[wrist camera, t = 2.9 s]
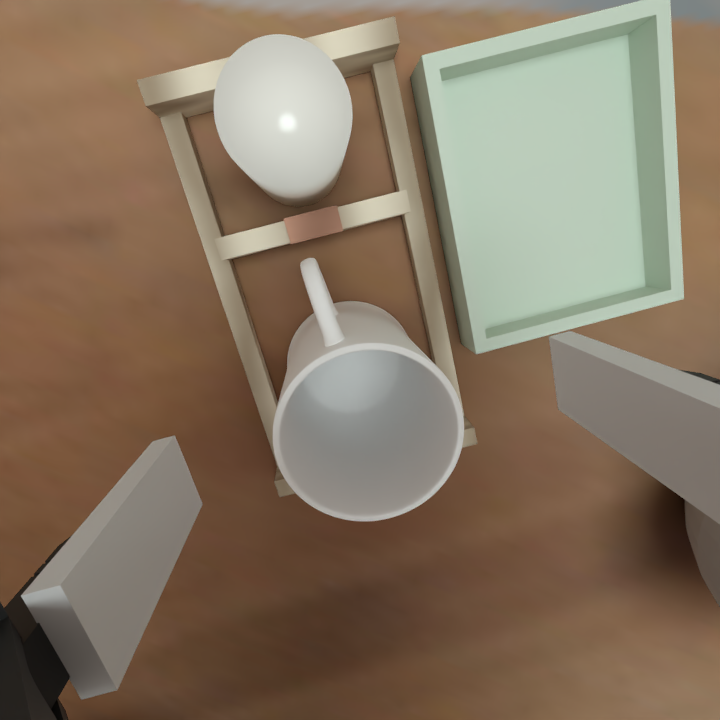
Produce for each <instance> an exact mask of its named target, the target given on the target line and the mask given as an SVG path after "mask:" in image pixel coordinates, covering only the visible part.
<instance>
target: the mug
mask: <svg viewBox="0 0 720 720" xmlns="http://www.w3.org/2000/svg"><path fill="white" fill-rule="evenodd" d="M300 268H301V272H302V276H303V280H304V283H305V286H306V289H307V292H308V295H309V298H310V301H311V304H312V307H313V310H314V313H313V314H312V315H310V316H309V317H308V318H307V319H306V320H305V321H304V322H303V323H302V324H301V325H300V327H299V328H298V329H297V331H296V333H295V334H294V336H293V338H292V341H291V343H290V346H289V350H288V356H287V372H286V376H285V379H284V383H283V387H282V390H281V394H280V398H279V401H278V405H277V409H276V413H275V417H274V423H273V448H274V454H275V458H276V461H277V464H278V467H279V469H280V471H281V473H282V475H283V477H284V479H285V480H286V482H287V483H288V485H289V486H290V487H291V488H292V490H293V491H294V492H295V493H296V494H297V495H298V496H299V497H300V498H301V499H302V500H304V501H305V502H306V503H308V504H309V505H311V506H312V507H314V508H315V509H317V510H319V511H321V512H323V513H325V514H328V515H330V516H333V517H337V518H340V519H345V520H351V521H377V520H383V519H388V518H392V517H395V516H398V515H401V514H404V513H406V512H408V511H410V510H412V509H414V508H416V507H418V506H419V505H421V504H422V503H424V502H425V501H426V500H428V499H429V498H430V497H431V496H433V495H434V494H435V493H436V492H437V491H438V490H439V489H440V488H441V487H442V485H443V484H444V483H445V482H446V480H447V479H448V477H449V476H450V474H451V473H452V471H453V469H454V467H455V465H456V463H457V461H458V458H459V456H460V452H461V449H462V444H463V438H464V418H463V412H462V407H461V404H460V401H459V398H458V396H457V394H456V391H455V389H454V388H453V386H452V384H451V383H450V381H449V380H448V378H447V377H446V376H445V375H444V373H443V372H442V371H441V370H440V369H439V368H438V367H437V366H436V365H435V364H434V363H433V362H432V361H431V360H430V359H429V358H428V357H427V356H426V355H425V354H424V353H423V352H422V351H421V350H420V349H419V348H418V347H417V346H416V345H415V344H414V342H413V341H412V340H411V339H410V338H409V337H408V336H407V334H406V332H405V330H404V329H403V327H402V326H401V324H400V323H399V322H398V321H397V320H396V319H395V318H394V317H393V316H392V315H391V314H389V313H388V312H386V311H385V310H383V309H381V308H379V307H377V306H375V305H372V304H369V303H365V302H359V301H343V302H337V303H333V301H332V299H331V296H330V294H329V291H328V288H327V286H326V283H325V281H324V278H323V275H322V273H321V270H320V268H319V266H318V263H317V261H316V259H315V258H307V259H305V260H303V261H302V262H301V264H300Z"/></svg>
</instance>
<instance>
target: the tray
mask: <svg viewBox="0 0 720 720" xmlns="http://www.w3.org/2000/svg"><path fill="white" fill-rule="evenodd" d="M410 79H411V84H412V89H413V95H414V100H415V105H416V110H417V116H418V121H419V126H420V131H421V137H422V142H423V147H424V152H425V157H426V163H427V168H428V173H429V178H430V184H431V189H432V194H433V199H434V204H435V210H436V215H437V220H438V225H439V231H440V236H441V241H442V246H443V252H444V257H445V262H446V267H447V272H448V278H449V283H450V288H451V293H452V299H453V304H454V309H455V314H456V319H457V325H458V330H459V335H460V340H461V344H462V345H463V346H465V347H466V348H468V349H469V350H471V351H472V352H474V353H475V354H479V353H483V352H487V351H490V350H494V349H498V348H502V347H505V346H509V345H513V344H517V343H520V342H524V341H528V340H532V339H535V338H539V337H543V336H547V335H550V334H554V333H558V332H562V331H565V330H569V329H573V328H577V327H580V326H584V325H588V324H591V323H595V322H599V321H603V320H606V319H610V318H614V317H618V316H621V315H625V314H629V313H633V312H636V311H640V310H644V309H648V308H651V307H655V306H659V305H663V304H666V303H670V302H674V301H678V300H681V299H684V288H683V266H682V245H681V223H680V202H679V180H678V158H677V137H676V115H675V94H674V72H673V51H672V29H671V8H670V0H642V1H638V2H634V3H630V4H626V5H622V6H618V7H614V8H610V9H606V10H602V11H598V12H594V13H590V14H586V15H582V16H578V17H574V18H570V19H566V20H562V21H558V22H554V23H550V24H546V25H542V26H538V27H534V28H530V29H526V30H522V31H518V32H514V33H510V34H506V35H502V36H498V37H494V38H490V39H486V40H482V41H478V42H474V43H470V44H466V45H462V46H458V47H454V48H450V49H446V50H442V51H438V52H434V53H430V54H426V55H422V56H421V58H420V60H419V62H418V64H417V65H416V67H415V69H414V71H413V73H412V75H411V77H410Z"/></svg>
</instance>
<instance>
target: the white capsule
mask: <svg viewBox="0 0 720 720" xmlns="http://www.w3.org/2000/svg"><path fill="white" fill-rule="evenodd" d="M214 118H215V123H216V127H217V131H218V134H219V136H220V139H221V141H222V143H223V145H224V147H225V149H226V151H227V152H228V154H229V155H230V157H231V158H232V159H233V160H234V161H235V163H236V164H237V165H238V166H239V167H240V168H241V169H242V170H243V171H244V172H245V173H246V174H247V175H248V176H249V177H250V178H251V179H252V180H253V181H254V182H255V183H256V184H257V185H258V186H259V187H260V188H261V189H262V190H263V191H264V192H265V193H266V194H267V195H268V196H270V197H271V198H272V199H274V200H276V201H277V202H279V203H282V204H285V205H288V206H295V207H301V206H308V205H311V204H314V203H316V202H318V201H320V200H321V199H323V198H324V197H325V196H327V195H328V194H329V193H330V191H331V190H332V189H333V187H334V186H335V184H336V182H337V180H338V178H339V175H340V172H341V168H342V164H343V160H344V157H345V153H346V149H347V145H348V142H349V138H350V134H351V128H352V118H353V116H352V103H351V97H350V94H349V90H348V87H347V85H346V82H345V80H344V78H343V76H342V74H341V72H340V71H339V69H338V68H337V66H336V65H335V63H334V62H333V61H332V60H331V59H330V58H329V57H328V56H327V54H325V53H324V52H323V51H322V50H321V49H319V48H318V47H317V46H315V45H313V44H312V43H310V42H308V41H306V40H304V39H301V38H298V37H295V36H290V35H283V34H274V35H267V36H262V37H259V38H256V39H254V40H252V41H250V42H248V43H246V44H244V45H243V46H242V47H240V48H239V49H238V50H237V51H236V52H235V53H234V54H233V55H232V56H231V57H230V58H229V60H228V61H227V62H226V64H225V65H224V67H223V69H222V71H221V73H220V75H219V78H218V80H217V84H216V88H215V94H214Z"/></svg>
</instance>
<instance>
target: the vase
mask: <svg viewBox="0 0 720 720" xmlns="http://www.w3.org/2000/svg"><path fill="white" fill-rule="evenodd" d="M685 520H686V529H687V533H688V538H689V541H690V544H691V547H692V550H693V553H694V556H695V558H696V561H697V564H698V567H699V570H700V573H701V576H702V577H703V579H704V581H705V583H706V585H707V587H708V588H709V590H710V592H711V593H712V595H713V597H714V598H715V600H716V602H717V603H718V605H719V607H720V524H718V523H717V522H716V521H714V520H713V519H711V518H710V517H709V516H707V515H706V514H704V513H703V512H702V511H700V510H699V509H697V508H696V507H695V506H693V505H692V504H690V503H689V502H688V501H686V500H685Z"/></svg>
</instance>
